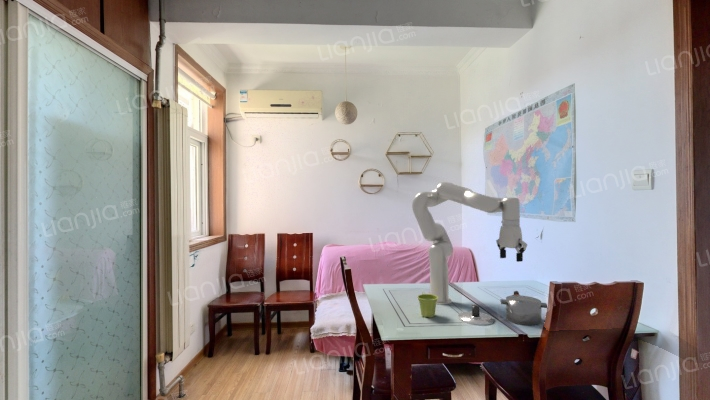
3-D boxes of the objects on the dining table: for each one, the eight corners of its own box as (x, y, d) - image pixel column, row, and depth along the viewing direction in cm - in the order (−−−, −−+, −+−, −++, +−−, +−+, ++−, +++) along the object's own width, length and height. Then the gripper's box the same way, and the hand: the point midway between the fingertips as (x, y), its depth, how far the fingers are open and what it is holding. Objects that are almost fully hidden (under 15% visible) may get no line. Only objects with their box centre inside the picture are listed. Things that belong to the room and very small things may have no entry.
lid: (457, 323, 144) (457, 309, 144) (459, 312, 158) (458, 299, 158) (494, 327, 139) (494, 312, 139) (492, 316, 153) (492, 302, 153)
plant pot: (426, 320, 147) (426, 300, 147) (413, 314, 156) (413, 295, 156) (442, 316, 152) (442, 297, 152) (429, 311, 160) (428, 293, 160)
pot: (502, 323, 143) (502, 302, 143) (499, 312, 156) (499, 293, 156) (550, 328, 137) (550, 306, 137) (543, 317, 150) (543, 297, 150)
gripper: (491, 222, 163) (491, 257, 163) (520, 224, 147) (520, 263, 147) (502, 222, 166) (502, 256, 166) (532, 224, 150) (532, 262, 149)
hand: (511, 259), depth 156 cm, fingers open, 9 cm apart
